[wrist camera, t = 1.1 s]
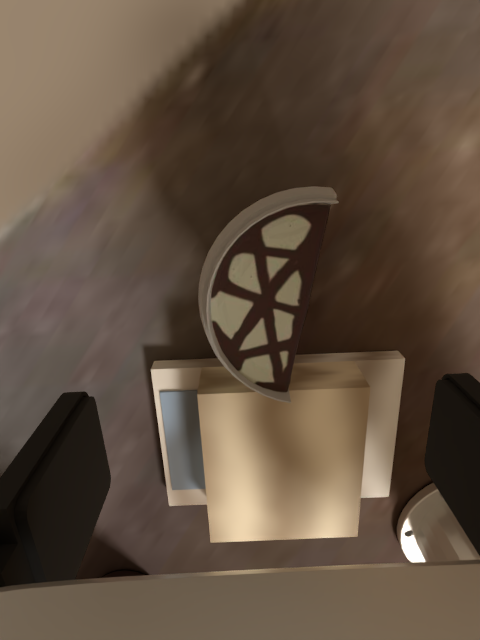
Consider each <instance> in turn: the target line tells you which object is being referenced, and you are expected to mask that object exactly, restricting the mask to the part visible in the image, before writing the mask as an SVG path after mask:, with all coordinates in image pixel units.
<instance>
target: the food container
mask: <svg viewBox="0 0 480 640" xmlns="http://www.w3.org/2000/svg"><path fill="white" fill-rule="evenodd" d="M336 197H337V194H336V193H335V191H334V190H333V188H331V187H317V186H312V187H300V188H293V189H289V190H285V191H281V192H277V193H274V194H272V195H270V196H267V197H265V198H263V199H260V200H258V201H257V202H255V203H254V204H252V205H250V206H249V207H247V208H246V209H244V210H243V211H242V212H240V213H239V214H238V215H237V216H236V217H235V218H234V219H232V220H231V221H230V222H229V223H228V224H227V226H226V227H225V228H224V229H223V230H222V232H221V233H220V234H219V235H218V236H217V238H216V240H215V242H214V243H213V245H212V247H211V248H210V250H209V252H208V254H207V257H206V260H205V262H204V265H203V267H202V272H201V276H200V281H199V294H198V303H199V311H200V317H201V321H202V324H203V327H204V331H205V333H206V336H207V338H208V341H209V343H210V345H211V347H212V349H213V351H214V353H215V355H216V356H217V357H218V359H219V360H220V362H221V363H222V364H223V366H224V367H225V368H226V369H227V370H228V371H229V372H230V373H231V374H232V375H233V376H234V377H235V378H237V379H238V380H239V381H240V382H242V383H243V384H244V385H246V386H247V387H249V388H250V389H252V390H254V391H255V392H257V393H259V394H261V395H263V396H266V397H269V398H271V399H274V400H277V401H282V402H287V403H291V399H290V393H289V384H290V382H291V374H292V369H293V364H294V360H295V356H296V352H297V348H298V344H299V340H300V336H301V332H302V329H303V325H304V321H305V318H306V314H307V310H308V306H309V301H310V296H311V291H312V286H313V281H314V276H315V272H316V267H317V263H318V258H319V254H320V249H321V245H322V241H323V236H324V232H325V228H326V223H327V219H328V214H329V210H330V205H329V204H337V203H339V201H337V200H336Z"/></svg>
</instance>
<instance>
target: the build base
mask: <svg viewBox="0 0 480 640" xmlns="http://www.w3.org/2000/svg"><path fill="white" fill-rule="evenodd" d="M404 365H405V358H404V357H403V356H402V354H401V353H400V352H399V351H375V352H351V353H328V354H304V355H296V356H295V360H294V364H293V369H292V374H291V382H290V384H289V393H290V399H291V403H287V402H282V401H277V400H274V399H271V398H269V397H266V396H263V395H261V394H259V393H257V392H255V391H254V390H252V389H250V388H249V387H247V386H246V385H244V384H243V383H242V382H240V381H239V380H238V379H237V378H235V377H234V376H233V375H232V374H231V373H230V372H229V371H228V370H227V369H226V368H225V367H224V366H223V364H222V363H221V362H220V360H219V359H218V358H210V359H186V360H162V361H154V363H153V365H152V368H151V375H152V383H153V390H154V397H155V405H156V412H157V419H158V427H159V434H160V442H161V449H162V456H163V464H164V471H165V478H166V486H167V493H168V501H169V506H179V505H203V504H207V507H208V518H209V529H210V540H211V543H212V542H236V541H260V540H284V539H308V538H333V537H357V535H358V523H359V512H360V500H361V498H371V497H389V491H390V482H391V474H392V466H393V457H394V449H395V441H396V432H397V424H398V415H399V407H400V399H401V390H402V382H403V374H404Z"/></svg>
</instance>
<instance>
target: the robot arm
mask: <svg viewBox="0 0 480 640" xmlns="http://www.w3.org/2000/svg"><path fill="white" fill-rule="evenodd" d="M425 467H426V470H427V473H428V475H429V476H430V478H431V479H432V481H433V483H432V484H430V485H428V486H426V487H425V488H423V489H422V490H421V491H419V492H418V493H417V494H416V495H415V496H414V497H413V498H412V499H411V500H410V501H409V502H408V503H407V505H406V506H405V507H404V509H403V510H402V513H401V515H400V517H399V519H398V524H397V538H398V541H399V544H400V546H401V548H402V550H403V552H404V554H405V556H406V557H407V559H408V560H409V561H410V562H407V563H384V564H361V565H339V566H318V567H297V568H277V569H256V570H236V571H217V572H199V573H180V574H162V575H143V576H125V577H109V578H94V579H79V580H75V578H76V575H77V573H78V570H79V567H80V565H81V562H82V560H83V557H84V554H85V552H86V549H87V546H88V544H89V541H90V538H91V536H92V533H93V530H94V528H95V525H96V522H97V520H98V517H99V514H100V512H101V509H102V507H103V504H104V501H105V499H106V496H107V493H108V491H109V488H110V482H111V475H110V470H109V465H108V460H107V455H106V450H105V445H104V440H103V435H102V431H101V426H100V421H99V416H98V411H97V406H96V402H95V399H94V397H89V396H88V394H87V393H86V392H67V393H63V394H62V395H61V396H60V397H59V399H58V400H57V401H56V403H55V404H54V406H53V407H52V408H51V410H50V411H49V412H48V414H47V415H46V416H45V418H44V419H43V420H42V422H41V423H40V425H39V426H38V427H37V429H36V430H35V431H34V433H33V434H32V435H31V437H30V438H29V440H28V441H27V442H26V444H25V445H24V446H23V448H22V449H21V450H20V452H19V453H18V454H17V456H16V457H15V458H14V460H13V461H12V463H11V464H10V465H9V467H8V468H7V469H6V471H5V472H4V473H3V475H2V476H1V478H0V640H480V383H479V382H478V381H477V380H476V379H475V378H474V377H473V376H471V375H470V374H468V373H461V374H446V375H444V376H443V378H442V380H438V381H437V383H436V387H435V394H434V400H433V407H432V414H431V420H430V427H429V433H428V440H427V446H426V453H425Z"/></svg>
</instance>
